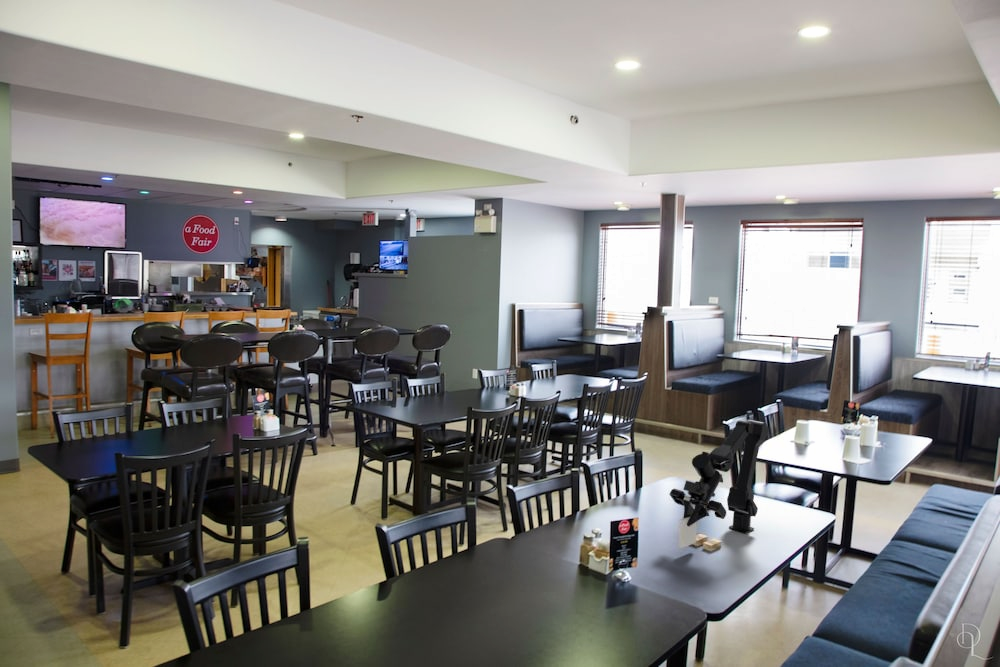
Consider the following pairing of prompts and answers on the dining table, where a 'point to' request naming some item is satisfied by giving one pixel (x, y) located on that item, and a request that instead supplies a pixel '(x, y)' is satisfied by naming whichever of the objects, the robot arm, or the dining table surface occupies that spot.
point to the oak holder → (707, 542)
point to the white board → (686, 533)
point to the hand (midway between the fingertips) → (685, 525)
